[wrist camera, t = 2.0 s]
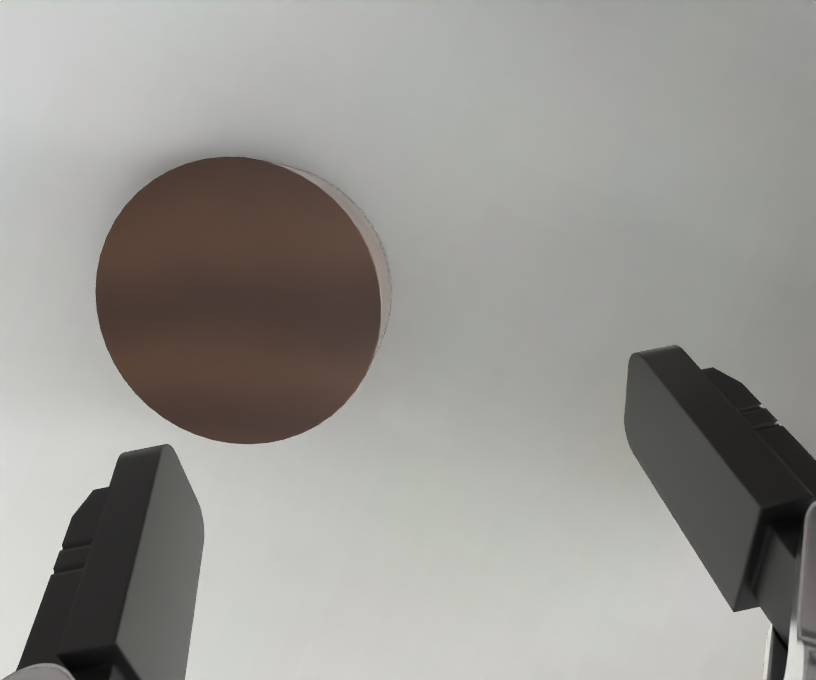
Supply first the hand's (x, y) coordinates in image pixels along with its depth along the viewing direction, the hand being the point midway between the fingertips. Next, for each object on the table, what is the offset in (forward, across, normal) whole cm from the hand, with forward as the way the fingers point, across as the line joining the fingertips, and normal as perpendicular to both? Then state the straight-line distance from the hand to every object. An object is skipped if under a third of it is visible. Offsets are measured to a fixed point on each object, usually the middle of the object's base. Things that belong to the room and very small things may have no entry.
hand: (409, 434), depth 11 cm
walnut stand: (+20, +5, +7) cm, 22 cm away
